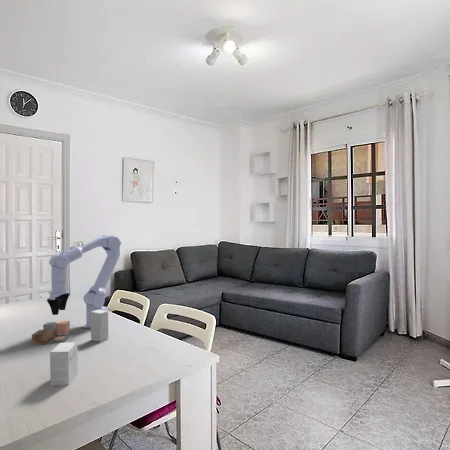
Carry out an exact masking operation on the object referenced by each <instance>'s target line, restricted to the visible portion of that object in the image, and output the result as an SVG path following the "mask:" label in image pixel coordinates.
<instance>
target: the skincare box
mask: <svg viewBox="0 0 450 450" xmlns="http://www.w3.org/2000/svg"><path fill="white" fill-rule="evenodd" d="M90 340H91V341H95V342H100V343H102V342H104V341H107V340H109V310H108V311H104V310H95V311H92V312H91V328H90Z"/></svg>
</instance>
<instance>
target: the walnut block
mask: <svg viewBox="0 0 450 450" xmlns="http://www.w3.org/2000/svg"><path fill="white" fill-rule="evenodd" d="M54 338H55V335H54V330H43V329H39V330H37V331H35V332H34V333H32V334H31V345H44V344H45V345H46V344H49V343H51V341H52V340H53V339H54Z"/></svg>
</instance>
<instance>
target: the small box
mask: <svg viewBox="0 0 450 450" xmlns="http://www.w3.org/2000/svg"><path fill="white" fill-rule="evenodd" d="M78 367H79V366H78V342H72V341H71V342H70V341H69V342H58V344H57V345H56V346H55V347H54V348H53V349H51V351H50V352H49V369H50V370H49V371H50V373H49V374H50V379H49V380H50V382H49V385H50V386H51V387H53V386H56V387H57V386H69V385H70V384H71V382H72V381H73V380H74V378H76V376H77V374H78V370H79V369H78Z"/></svg>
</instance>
